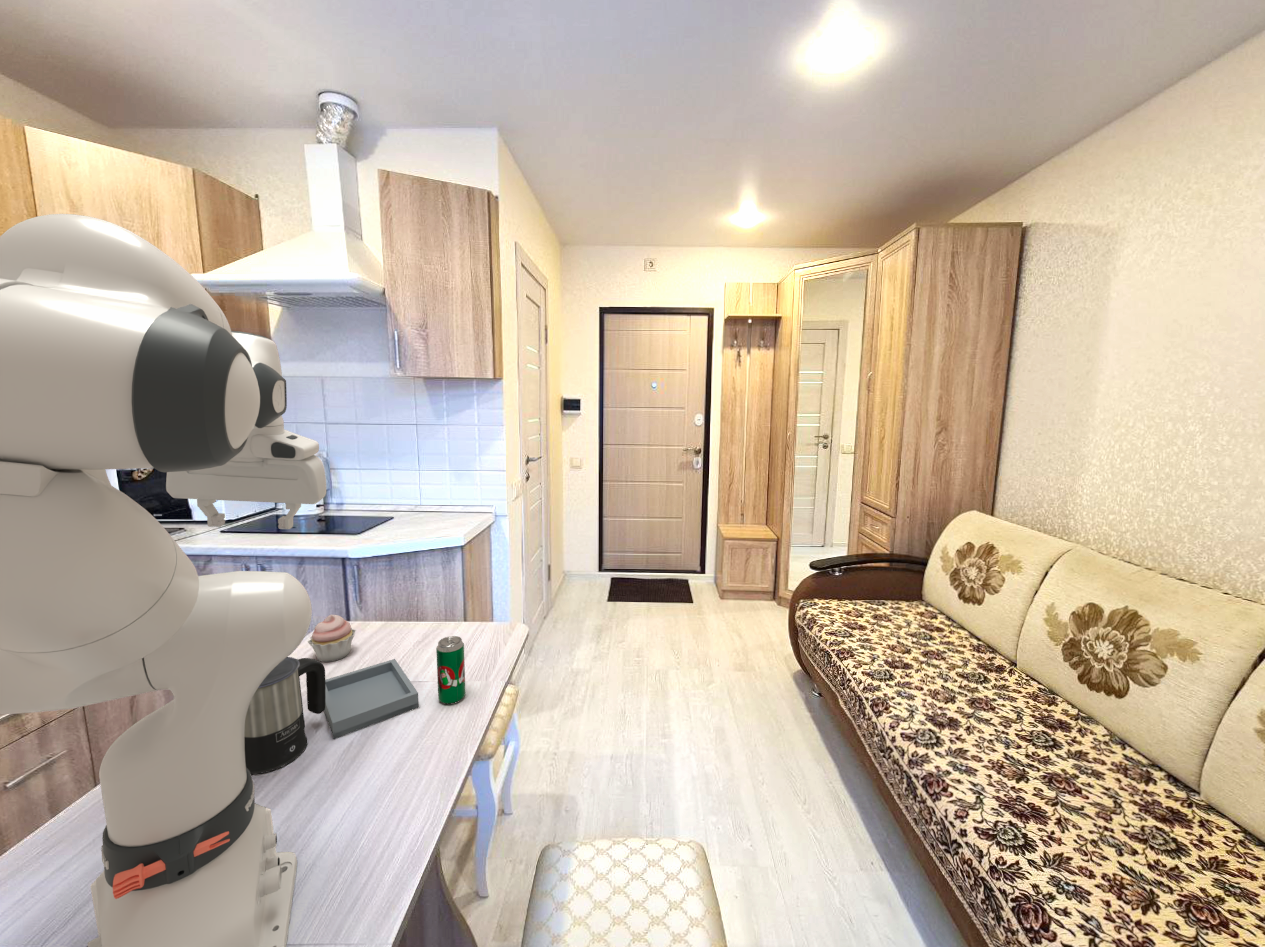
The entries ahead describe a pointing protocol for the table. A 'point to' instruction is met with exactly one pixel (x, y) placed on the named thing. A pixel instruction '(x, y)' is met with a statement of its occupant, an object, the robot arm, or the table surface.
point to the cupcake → (332, 638)
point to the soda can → (450, 669)
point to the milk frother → (282, 714)
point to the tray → (367, 697)
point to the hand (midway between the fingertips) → (251, 526)
